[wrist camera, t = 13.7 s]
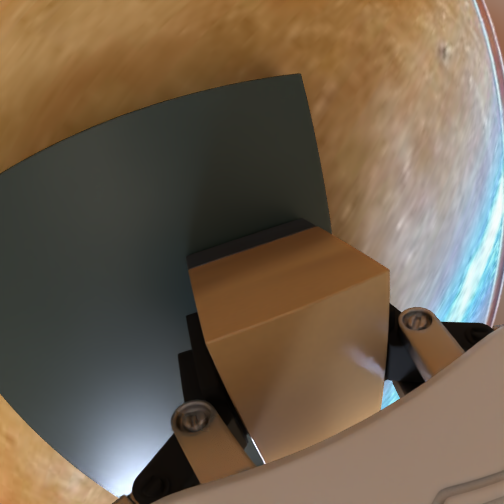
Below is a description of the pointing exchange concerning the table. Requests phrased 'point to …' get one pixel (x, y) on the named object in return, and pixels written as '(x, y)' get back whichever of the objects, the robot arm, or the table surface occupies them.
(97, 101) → the table surface
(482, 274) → the table surface
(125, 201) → the chalkboard
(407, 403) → the robot arm
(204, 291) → the eraser
